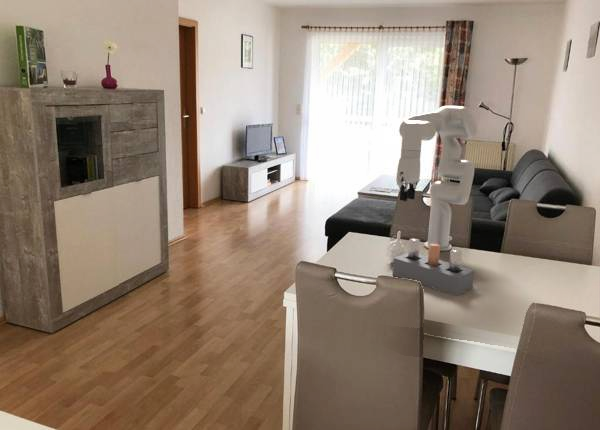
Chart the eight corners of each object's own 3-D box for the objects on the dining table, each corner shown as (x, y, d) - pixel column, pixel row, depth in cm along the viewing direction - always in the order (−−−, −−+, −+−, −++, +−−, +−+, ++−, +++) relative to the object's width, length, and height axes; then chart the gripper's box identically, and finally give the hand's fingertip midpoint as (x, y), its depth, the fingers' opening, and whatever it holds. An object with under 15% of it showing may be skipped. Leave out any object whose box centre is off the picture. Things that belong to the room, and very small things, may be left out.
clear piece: (452, 268, 190) (454, 248, 189) (461, 271, 188) (464, 251, 186) (446, 271, 188) (448, 250, 186) (456, 274, 185) (458, 253, 183)
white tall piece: (403, 260, 218) (405, 229, 215) (404, 265, 212) (407, 233, 209) (386, 259, 219) (388, 228, 215) (387, 264, 213) (389, 232, 209)
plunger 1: (411, 256, 203) (413, 237, 201) (420, 259, 200) (421, 240, 198) (406, 258, 200) (407, 239, 198) (414, 261, 197) (416, 242, 195)
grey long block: (409, 267, 209) (411, 251, 208) (472, 287, 190) (474, 270, 188) (392, 274, 201) (393, 258, 199) (456, 295, 182) (458, 277, 180)
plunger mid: (431, 262, 197) (433, 243, 195) (440, 265, 194) (442, 245, 192) (425, 264, 194) (427, 245, 192) (434, 267, 191) (436, 247, 189)
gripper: (414, 151, 205) (411, 195, 210) (390, 154, 194) (386, 200, 198) (430, 153, 200) (426, 198, 205) (406, 156, 189) (402, 204, 193)
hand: (407, 199), depth 202 cm, fingers open, 4 cm apart
